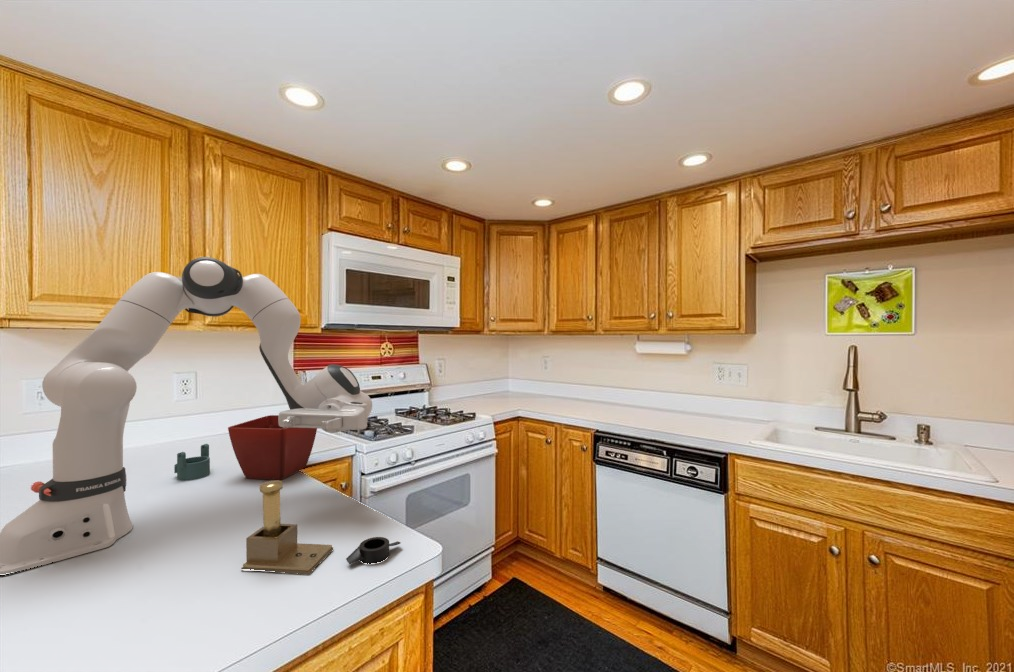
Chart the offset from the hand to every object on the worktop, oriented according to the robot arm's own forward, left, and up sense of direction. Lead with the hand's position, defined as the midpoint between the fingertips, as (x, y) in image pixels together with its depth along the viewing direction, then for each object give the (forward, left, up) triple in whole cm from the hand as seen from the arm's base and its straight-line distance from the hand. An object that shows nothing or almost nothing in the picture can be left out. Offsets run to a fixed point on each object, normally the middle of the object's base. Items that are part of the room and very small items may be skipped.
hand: (304, 425), depth 96 cm
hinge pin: (-10, -5, -23) cm, 26 cm away
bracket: (+6, +65, -25) cm, 70 cm away
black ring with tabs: (0, -22, -25) cm, 33 cm away
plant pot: (+21, +45, -25) cm, 55 cm away
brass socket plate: (-9, -8, -24) cm, 27 cm away
